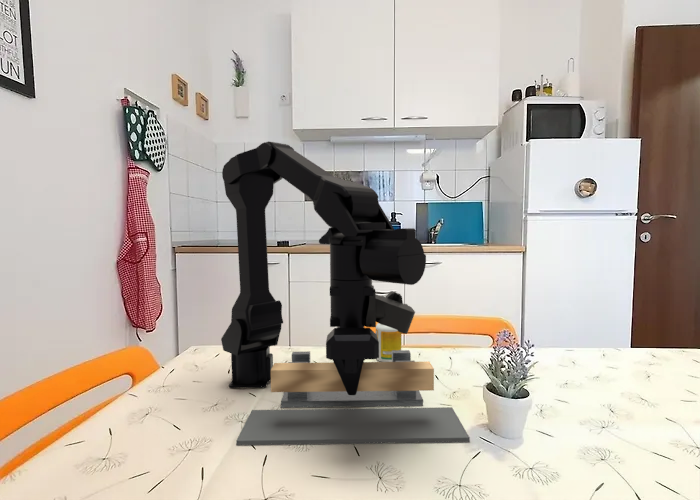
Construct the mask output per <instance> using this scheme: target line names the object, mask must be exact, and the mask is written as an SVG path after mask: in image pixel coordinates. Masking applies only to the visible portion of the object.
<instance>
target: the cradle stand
mask: <svg viewBox="0 0 700 500" xmlns="http://www.w3.org/2000/svg"><path fill="white" fill-rule="evenodd" d="M411 356H412V354H411V351H410V350H409V349H408V350H407V349H401V350H392V362H416V361H415V360H411V359H412V357H411ZM287 363H311V351H309V350H308V351H292V353H291V361H288V362H287ZM347 407H348V408H350V407H351V408H353V407H354V408H355V407H356V408H358V407H359V408H360V407H361V408H364V407H365V408H368V407H372V408H374V407H424V399H423V396H422V394H421V392H420V391H357V393H356V395H348V393H347V391H337V392H283V395H282V397H281V399H280V408H281V409H283V408H285V409H286V408H288V409H289V408H292V409H293V408H347Z"/></svg>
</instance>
